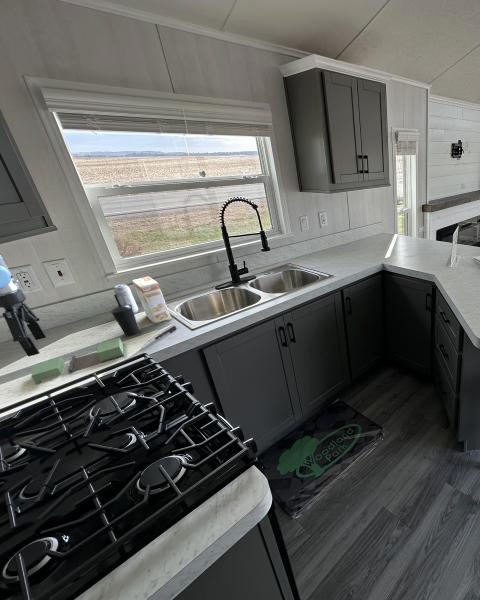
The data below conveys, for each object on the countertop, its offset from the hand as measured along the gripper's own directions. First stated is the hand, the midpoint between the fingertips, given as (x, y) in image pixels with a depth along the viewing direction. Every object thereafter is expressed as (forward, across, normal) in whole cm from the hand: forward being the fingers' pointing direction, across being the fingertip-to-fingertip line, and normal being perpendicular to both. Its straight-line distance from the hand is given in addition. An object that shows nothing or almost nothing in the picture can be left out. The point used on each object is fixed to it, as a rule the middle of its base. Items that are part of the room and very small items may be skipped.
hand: (37, 346), depth 117 cm
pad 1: (+12, 0, +1) cm, 12 cm away
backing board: (+12, 0, -13) cm, 18 cm away
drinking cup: (+12, +15, -24) cm, 31 cm away
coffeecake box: (+13, +27, -35) cm, 46 cm away
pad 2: (+11, 0, -18) cm, 21 cm away
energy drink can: (+13, +44, -24) cm, 52 cm away
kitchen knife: (+13, +2, -33) cm, 36 cm away
